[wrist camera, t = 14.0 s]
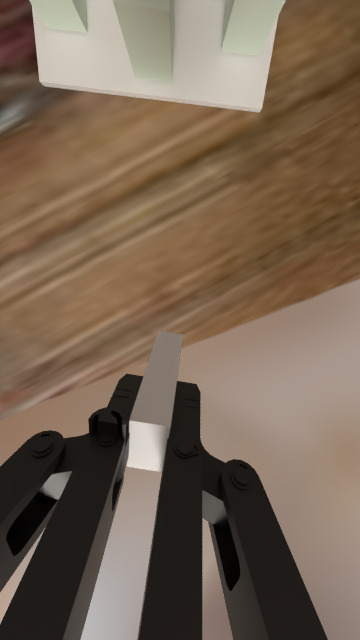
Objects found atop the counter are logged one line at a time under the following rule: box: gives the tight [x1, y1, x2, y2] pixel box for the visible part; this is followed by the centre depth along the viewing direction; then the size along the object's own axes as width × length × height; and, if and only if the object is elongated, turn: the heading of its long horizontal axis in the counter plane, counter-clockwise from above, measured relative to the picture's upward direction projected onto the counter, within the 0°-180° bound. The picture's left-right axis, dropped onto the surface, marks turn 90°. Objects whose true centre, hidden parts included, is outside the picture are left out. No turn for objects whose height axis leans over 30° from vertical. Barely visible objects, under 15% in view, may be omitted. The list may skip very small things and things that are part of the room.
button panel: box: [32, 0, 278, 112], centre depth 23 cm, size 25×12×6 cm, turn 85°
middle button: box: [113, 0, 175, 83], centre depth 21 cm, size 4×4×10 cm
